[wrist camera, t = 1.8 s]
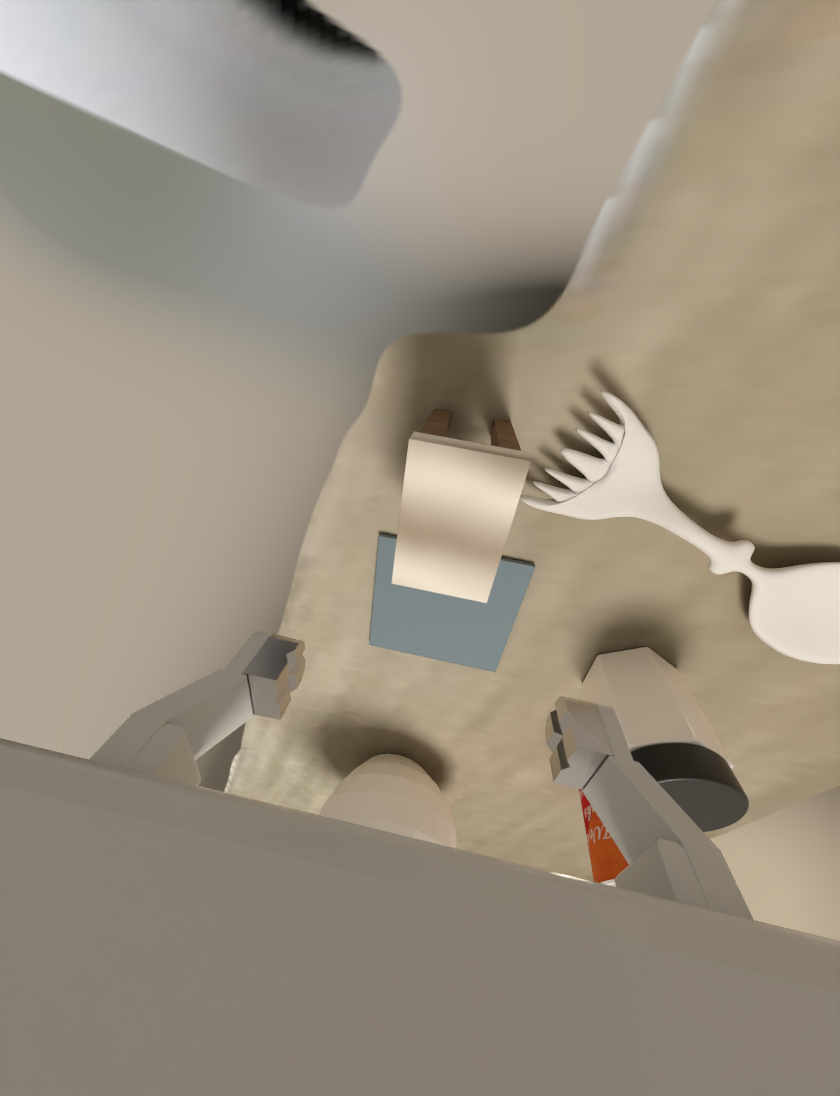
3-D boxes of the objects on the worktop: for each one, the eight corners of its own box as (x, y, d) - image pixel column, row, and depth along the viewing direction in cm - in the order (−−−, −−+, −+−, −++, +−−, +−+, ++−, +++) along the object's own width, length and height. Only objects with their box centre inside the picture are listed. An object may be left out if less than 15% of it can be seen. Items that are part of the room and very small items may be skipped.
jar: (589, 706, 39) (626, 835, 29) (573, 656, 36) (609, 782, 26) (680, 695, 37) (758, 833, 26) (672, 639, 33) (757, 773, 23)
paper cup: (608, 733, 41) (660, 893, 29) (645, 765, 43) (708, 927, 31) (552, 753, 45) (577, 904, 33) (588, 782, 47) (624, 933, 35)
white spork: (593, 378, 24) (609, 384, 21) (918, 596, 28) (970, 627, 25) (512, 487, 28) (515, 504, 25) (802, 660, 33) (834, 692, 30)
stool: (432, 405, 26) (409, 438, 17) (514, 419, 25) (531, 461, 17) (416, 515, 30) (391, 583, 22) (485, 528, 30) (486, 603, 22)
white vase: (418, 815, 59) (383, 1086, 38) (320, 770, 56) (221, 1035, 35) (486, 773, 49) (490, 1103, 28) (372, 716, 46) (280, 1035, 25)
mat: (380, 533, 32) (379, 536, 32) (534, 563, 31) (535, 567, 31) (370, 641, 39) (369, 644, 39) (494, 668, 39) (495, 672, 38)
